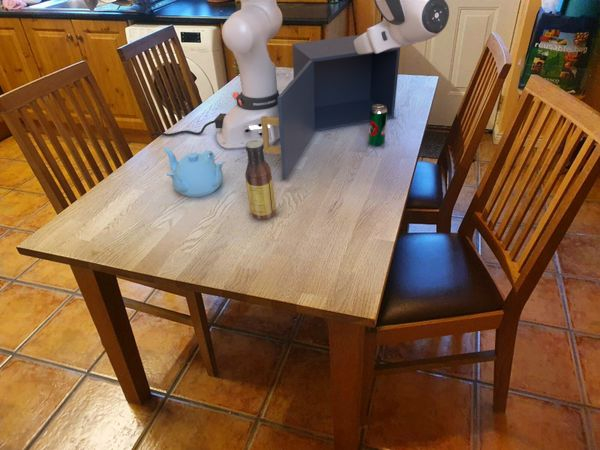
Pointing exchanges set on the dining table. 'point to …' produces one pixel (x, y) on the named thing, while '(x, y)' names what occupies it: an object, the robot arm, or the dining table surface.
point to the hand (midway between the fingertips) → (380, 35)
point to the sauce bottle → (259, 182)
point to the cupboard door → (293, 120)
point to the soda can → (377, 125)
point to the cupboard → (347, 81)
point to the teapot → (195, 173)
